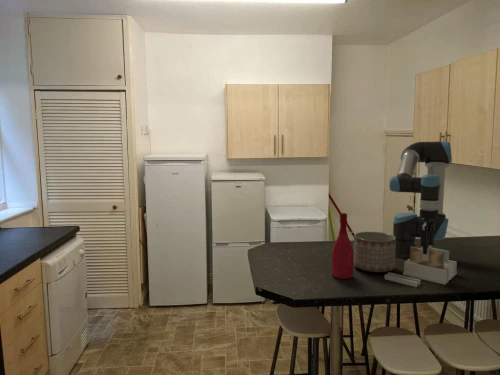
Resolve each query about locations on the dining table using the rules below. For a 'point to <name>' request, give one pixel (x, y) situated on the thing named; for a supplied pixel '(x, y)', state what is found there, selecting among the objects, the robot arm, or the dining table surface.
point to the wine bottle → (342, 253)
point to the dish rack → (432, 270)
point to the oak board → (434, 258)
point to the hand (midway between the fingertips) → (426, 259)
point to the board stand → (402, 279)
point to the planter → (374, 251)
